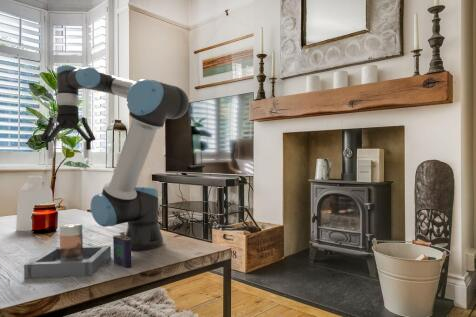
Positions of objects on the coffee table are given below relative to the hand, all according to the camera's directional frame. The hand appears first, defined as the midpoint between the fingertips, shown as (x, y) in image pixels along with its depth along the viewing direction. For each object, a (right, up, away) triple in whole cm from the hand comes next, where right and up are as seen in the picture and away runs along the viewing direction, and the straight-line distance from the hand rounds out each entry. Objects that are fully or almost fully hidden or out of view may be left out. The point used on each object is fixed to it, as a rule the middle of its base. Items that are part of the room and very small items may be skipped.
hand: (68, 158), depth 135 cm
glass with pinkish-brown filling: (+15, -34, -28) cm, 46 cm away
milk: (-33, -35, +32) cm, 58 cm away
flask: (+31, -35, -26) cm, 53 cm away
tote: (+15, -35, -28) cm, 47 cm away
